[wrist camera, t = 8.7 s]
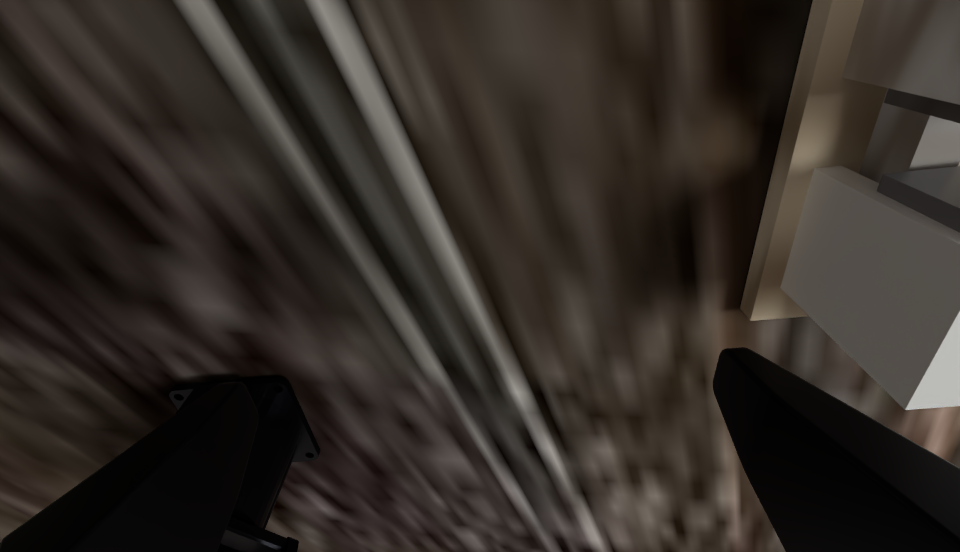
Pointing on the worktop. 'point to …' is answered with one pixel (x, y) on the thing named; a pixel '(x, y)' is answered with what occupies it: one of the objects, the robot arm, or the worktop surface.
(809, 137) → the rail
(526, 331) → the worktop surface
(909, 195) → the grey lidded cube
